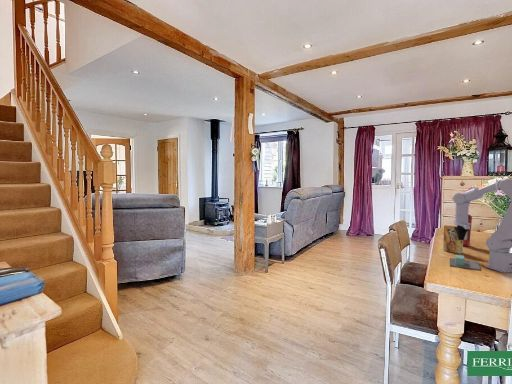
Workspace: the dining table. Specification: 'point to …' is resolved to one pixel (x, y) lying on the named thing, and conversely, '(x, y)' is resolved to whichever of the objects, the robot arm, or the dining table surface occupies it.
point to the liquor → (468, 233)
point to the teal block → (459, 260)
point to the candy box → (452, 240)
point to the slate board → (466, 264)
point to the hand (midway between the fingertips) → (460, 239)
